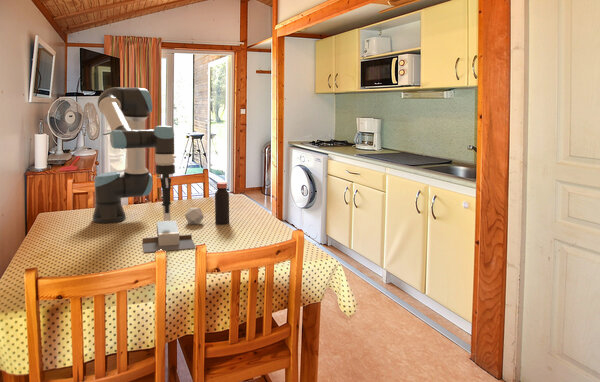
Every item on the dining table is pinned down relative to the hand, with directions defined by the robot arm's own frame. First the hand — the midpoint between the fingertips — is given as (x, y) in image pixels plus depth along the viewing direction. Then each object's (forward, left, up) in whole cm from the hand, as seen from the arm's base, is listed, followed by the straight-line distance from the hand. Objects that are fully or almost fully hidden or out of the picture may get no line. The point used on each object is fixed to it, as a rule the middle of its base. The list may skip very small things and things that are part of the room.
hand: (167, 220), depth 195 cm
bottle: (-25, +28, -10) cm, 39 cm away
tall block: (-5, 0, -4) cm, 6 cm away
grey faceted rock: (-28, +15, -10) cm, 33 cm away
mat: (+6, 0, -9) cm, 11 cm away
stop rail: (-1, 0, -9) cm, 9 cm away
